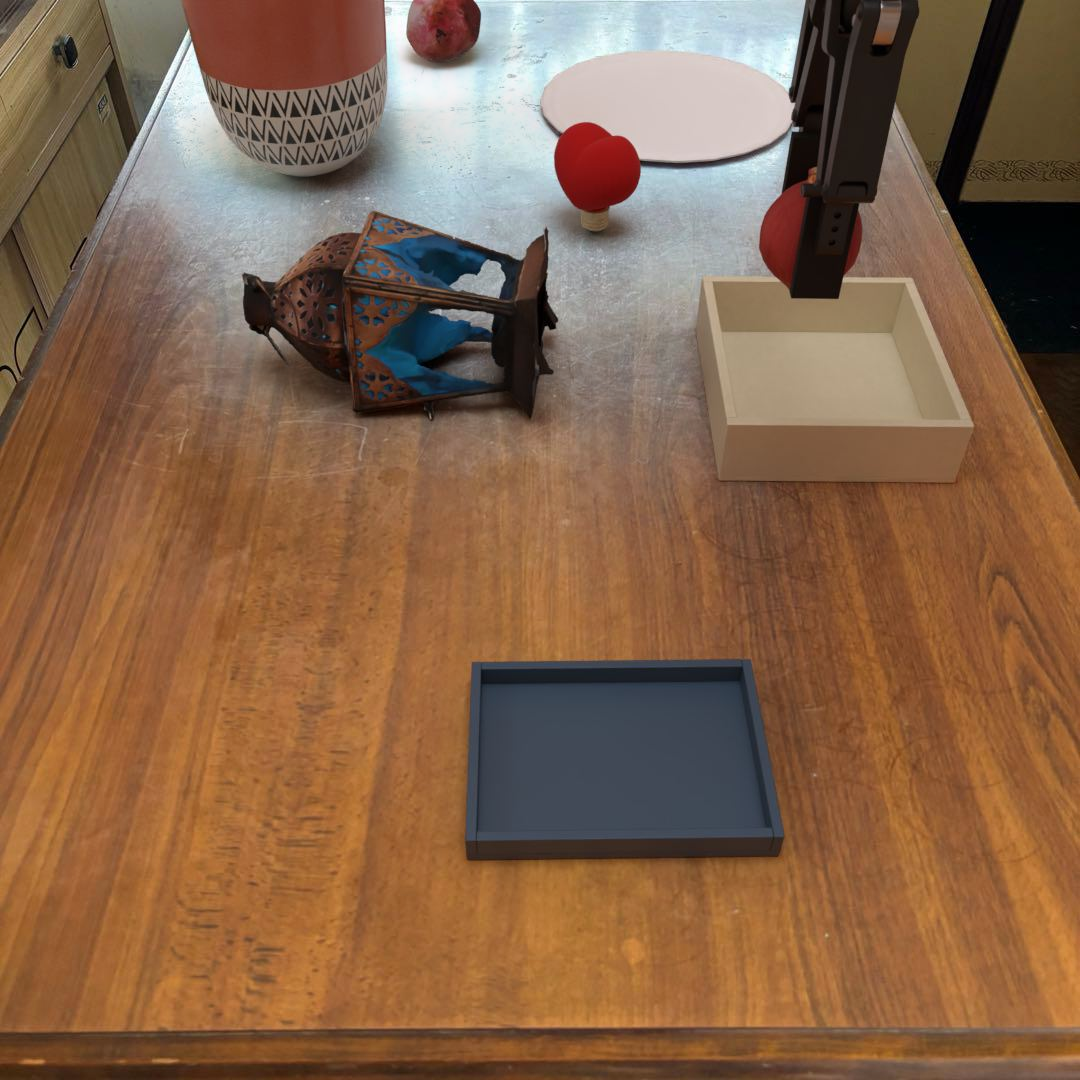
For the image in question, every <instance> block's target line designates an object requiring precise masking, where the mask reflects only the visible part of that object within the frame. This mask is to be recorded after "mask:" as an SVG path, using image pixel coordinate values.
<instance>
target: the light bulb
mask: <svg viewBox="0 0 1080 1080" xmlns="http://www.w3.org/2000/svg"><path fill="white" fill-rule="evenodd" d="M553 154H554V155H553V167H554V172H555V175H556V178H557V182H558V184H559V186H560V188H561V190H562V191H563V193H564V195H565V196H566V197H567V199H568V201H569V202H570V204H572V206H574V207H575V208H577V209H578V210H580V211H581V213H580V224H581V227H582V228H584V229H586V230H587V231H589V232H590V233H592V234H597V233H599V232H601V231H602V230H604V229H605V228H607V227H608V225H609V217H610V215H609V213H610V208H611V207H613V206H617V205H619V204H621V203H623V202H625V201H627V200H628V199H629V198H630V197H631V196H632V195H633V194H634V193H635V191H636V189H637V187H638V186H639V183H640V180H641V176H642V175H641V173H642V167H641V160H639V157H638V154H637V151H636V149H635V148H634V146H633V145H632V143H631V142H630V141H629V140H628V139H626V138H625V137H623V136H612V135H611V134H610V133H609V132H608V131H606V130H605V129H604V128H602V127H601V126H599V125H597V124H595V123H591V122H582V123H578V124H574V125H573V126H571V127H569V128H568V129H566V130H565V132H564V133H563V134H562V133H561V135H560V136H559V138H558V140H557V142H556V145H555V148H554V153H553Z"/></svg>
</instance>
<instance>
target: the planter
mask: <svg viewBox="0 0 1080 1080" xmlns="http://www.w3.org/2000/svg"><path fill="white" fill-rule="evenodd" d="M180 2H181V6H182V9H183V13H184V16H185V20H186V24H187V28H188V32H189V36H190V39H191V43H192V47H193V51H194V53H195V57H196V60H197V64H198V68H199V72H200V75H201V78H202V82H203V87H204V89H205V93H206V95H207V98H208V101H209V104H210V106H211V108H212V111H213V113H214V115H215V117H216V119H217V121H218V123H219V125H220V126H221V127H220V128H222V130H223V131H224V133H225V135H226V136H227V137H228V139H229V141H231V143H232V144H233V145H234V146H235V147H236V148H237V149H238V150H239V151H240V152H241V153H243V154H244V155H245V156H246V157H248V158H249V159H250V160H252V161H254V162H255V163H256V164H259V165H260V166H261V167H263V168H266V169H268V170H270V171H272V172H276V173H278V174H282V175H285V176H290V177H291V176H293V177H315V176H316V177H317V176H321V175H326V174H328V173H329V174H330V173H332V172H336V171H337V170H339V169H341V168H344V167H345V166H347V165H348V164H350V163H351V162H352V161H353V160H355V159H356V158H358V156H359V155H360V154H361V153H362V152H364V150H365V149H366V148H367V147H368V145H369V144H370V143H371V141H372V140H373V138H374V137H375V135H376V133H377V132H378V130H379V127H380V125H381V122H382V119H383V115H384V113H385V107H386V100H387V92H388V52H387V51H388V49H387V23H386V21H387V20H386V4H385V0H180Z"/></svg>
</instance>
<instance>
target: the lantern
mask: <svg viewBox="0 0 1080 1080" xmlns="http://www.w3.org/2000/svg"><path fill="white" fill-rule="evenodd" d="M542 229H543V234H541V235H539V236H538V237H536V238H535V239H534V240H533V241H531V243H530V245H529V246H528V247H527V248H526V249H525V255H524V257H523V258H522V259H518V258H516V257H513V256H512V255H510V254H508V253H503V252H500V251H497V250H494V249H490V248H488V247H485V246H482V245H481V244H477V243H473V242H471V241H469V240H466V239H462V238H459V237H453V236H452V235H450V234H447V233H444V232H441V231H438V230H435V229H432V228H429V227H427V226H423V225H420V224H417V223H413V222H409V221H407V220H405V219H401V218H399V217H394V216H391V215H388V214H385V213H383V212H380V211H375V210H370V212H369V214H367V219H366V221H365V223H364V226H363V227H362V231H361V232H352V231H349V232H348V231H347V232H340V233H337V234H334V235H330V236H328V237H326V238H325V239H322V240H321V241H319V242H317V243H316V244H315V245H314V246H313V247H311V248H309V250H308V251H307V252H306V253H305V254H304V255H302V257H300V258H299V259H298V261H296V262H295V263H294V264H293V265H292V267H291V268H289V270H288V271H287V272H286V273H285V274H284V275H283V276H282V277H281V278H280V279H278V280H277V281H267V280H262V279H261V277H260V276H258V275H254V274H252V273H247V272H242V273H241V277H242V281H243V296H242V310H243V316H244V321H245V322H246V324H247V325H248V328H249V330H250V331H253V332H254V333H256V334H258V335H263V336H264V337H266V339H267V340H268V341H269V344H270V345H271V347H272V348H273V350H274V351H275V352H276V353H277V355H278V356H279V357H280V358H281V360H283V362H284V363H285V364H286V366H289V367H290V366H292V362H290V361H288V359H287V358H286V357H285V356H284V354H283V353H282V351H281V349H280V347H279V346H278V344H276V343H275V341H274V339H273V338H272V337H271V335H270V331H271V328H273V329H275V330H276V331H277V332H278V333H279V334H280V335H281V336H282V337H283V339H284V340H286V341H287V342H288V344H289V345H291V346H292V347H293V348H294V349H295V350H296V351H297V352H298V353H299V355H301V356H302V357H303V358H304V360H306V361H307V362H308V363H309V364H310V365H311V366H312V367H313V368H314V369H316V370H317V371H319V372H320V373H322V374H323V375H325V376H327V377H329V378H331V379H333V380H335V381H339V382H341V383H350V388H351V389H350V390H351V408H352V412H353V413H354V414H363V413H369V412H374V411H382V410H389V409H398V408H404V407H406V406H409V405H418V404H421V403H422V404H424V406H423V410H424V411H427V415H428V419H429V420H430V421H433V420H434V417H435V411H434V408H433V405H434V404H435V403H439V402H441V401H447V400H455V399H458V398H464V397H472V396H473V397H474V396H480V395H484V394H496V393H508V394H510V395H511V397H512V398H513V399H514V400H515V401H516V402H517V403H518V404H519V406H521V408H522V410H523V412H524V413H525V414H526V416H527V417H528V419H529V420H531V419H532V417H533V413H534V407H535V400H536V394H537V388H538V387H537V386H538V382H539V380H540V376H544V375H548V376H554V374H555V371H554V370H553V368H551V367H550V365H549V363H548V360H547V359H546V357H545V355H544V352H543V351H544V341H543V336H544V332H545V329H546V327H548V330H549V331H553V330H556V329H557V323H558V322H559V318H558V316H557V315H556V313H555V311H554V310H553V308H552V306H551V305H550V303H549V301H548V300H549V297H550V296H549V295H548V291H547V281H548V275H549V272H548V268H549V245H550V242H549V229H548V226H546V225H544V226H542ZM487 261H490V262H495V263H498V264H499V265H500V270H501V272H502V273H503V274H504V277H505V278H504V279H505V280H504V281H503V284H502V286H501V287H500V288H501V289H500V292H499V296H498V297H493V296H488V295H484V294H477V293H476V292H471V291H466V290H464V289H461V290H456V289H455V288H453V287H451V286H452V285H453V284H454V283H457V282H458V281H459V279H460V278H461V277H462V276H464V275H475V276H478V274H480V272H481V271H482V267H483V265H485V263H486V262H487ZM436 310H440V311H451V310H456V311H468V312H473V313H474V312H480V313H481V312H483V313H486V314H488V315H489V314H490V315H493V319H492V323H491V326H490V327H491V329H490V330H491V331H490V330H489V329H488V328H486V327H483V326H476V325H475V326H474V325H471V324H472V322H471V321H468V320H464V319H461V318H460V319H458V320H450V319H449V318H448V317H447V316H445V315H441V314H439V313H432V312H434V311H436ZM466 342H467V343H469V342H470V343H490V353H491V357H492V359H493V360H494V364H495V365H496V366H498V367H499V368H503V378H502V382H498V383H493V382H486V381H485V380H478V379H476V378H474V379H473V380H472V379H468V378H463V377H458V376H456V375H451V374H449V373H447V372H445V371H444V370H442V371H435V370H432V369H430V367H426V366H423V365H421V364H422V363H425V362H429V361H431V360H434V359H436V358H438V357H440V356H442V355H444V354H445V353H447V352H449V351H450V350H453V349H454V348H455V347H457V346H459V345H460V346H461V345H462V344H464V343H466Z"/></svg>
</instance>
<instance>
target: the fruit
mask: <svg viewBox="0 0 1080 1080" xmlns="http://www.w3.org/2000/svg"><path fill="white" fill-rule="evenodd" d="M481 23H482V12H481V9H480V7H479V5H478V3H476V1H475V0H412V2H411V4H410V6H409V9H408V13H407V19H406V31H405V32H406V33H405V35H406V38H407V41H408V42H409V45H410V46H411V48H412V50H413V51H414V52H415V53H416V55H418V56H419V57H420V58H423V59H425V60H429V61H433V62H438V63H443V62H451V61H454V60H456V59H457V58H459V57H461V56H462V55H463V54H465V53H468V52H469V50H471V49H472V48H473V47H475V45H476V43H477V42H478V40H479V38H480V37H479V36H480V31H481Z"/></svg>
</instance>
